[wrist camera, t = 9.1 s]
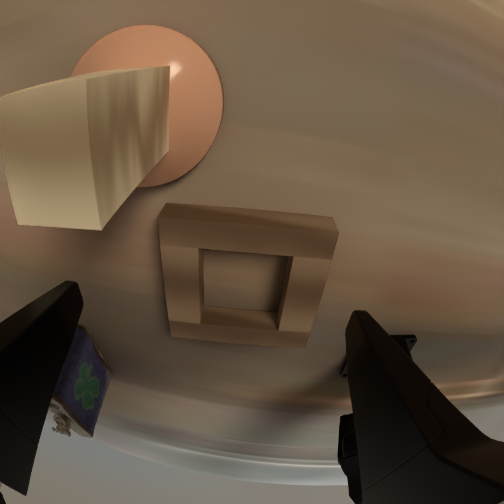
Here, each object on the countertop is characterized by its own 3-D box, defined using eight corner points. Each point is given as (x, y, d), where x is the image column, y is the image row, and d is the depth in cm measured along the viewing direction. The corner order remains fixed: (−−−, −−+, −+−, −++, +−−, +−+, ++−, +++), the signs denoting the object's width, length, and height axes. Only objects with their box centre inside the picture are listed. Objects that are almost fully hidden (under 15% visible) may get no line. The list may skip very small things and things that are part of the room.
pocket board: (302, 330, 27) (304, 347, 25) (175, 319, 26) (171, 336, 25) (332, 217, 20) (338, 233, 19) (166, 203, 20) (157, 217, 19)
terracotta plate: (219, 185, 19) (217, 191, 19) (79, 179, 19) (72, 185, 18) (230, 23, 14) (228, 21, 13) (71, 38, 14) (63, 38, 13)
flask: (116, 376, 33) (91, 454, 24) (95, 373, 33) (69, 447, 24) (88, 324, 28) (47, 414, 19) (65, 321, 28) (24, 405, 19)
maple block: (168, 150, 17) (101, 230, 10) (107, 150, 17) (18, 224, 10) (170, 65, 14) (85, 79, 7) (104, 70, 14) (-5, 98, 7)
